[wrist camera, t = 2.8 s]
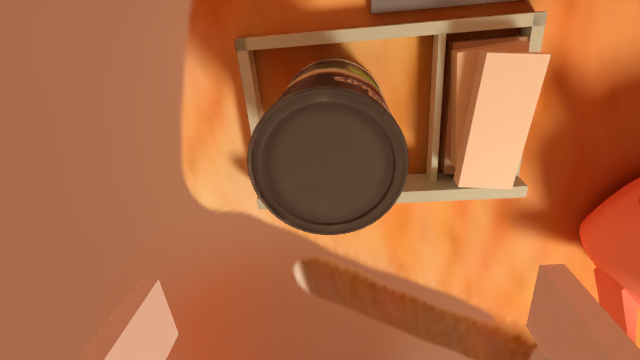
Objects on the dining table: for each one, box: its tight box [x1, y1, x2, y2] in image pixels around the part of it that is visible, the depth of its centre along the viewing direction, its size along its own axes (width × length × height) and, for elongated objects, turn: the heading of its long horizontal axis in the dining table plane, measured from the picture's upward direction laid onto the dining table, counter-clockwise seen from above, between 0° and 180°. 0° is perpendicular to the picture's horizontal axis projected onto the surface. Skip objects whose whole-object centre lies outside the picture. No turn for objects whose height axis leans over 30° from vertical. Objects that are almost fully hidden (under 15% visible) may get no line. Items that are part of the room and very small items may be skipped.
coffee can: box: [247, 58, 409, 235], centre depth 29 cm, size 10×10×14 cm
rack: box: [234, 12, 551, 209], centre depth 32 cm, size 16×26×5 cm, turn 95°
